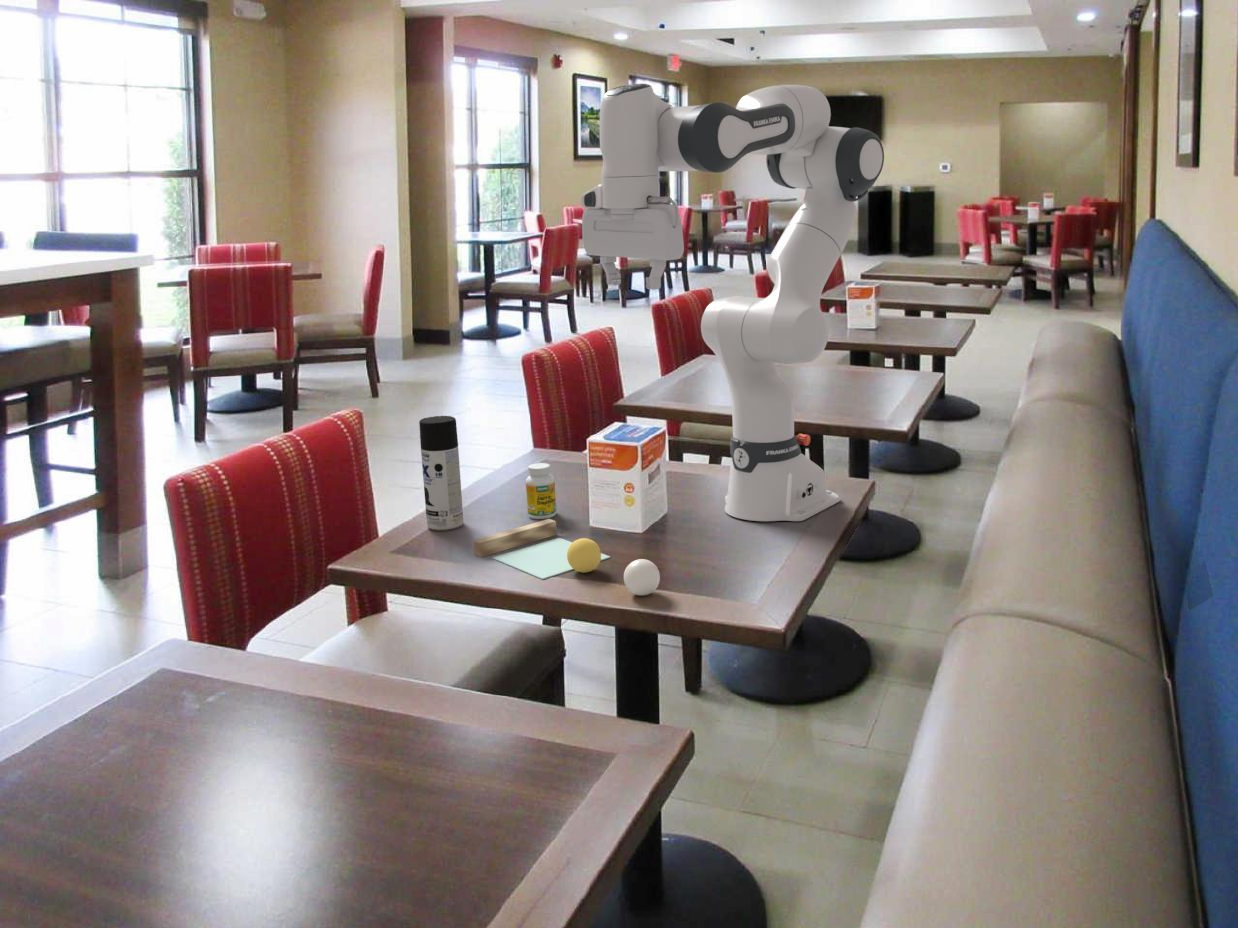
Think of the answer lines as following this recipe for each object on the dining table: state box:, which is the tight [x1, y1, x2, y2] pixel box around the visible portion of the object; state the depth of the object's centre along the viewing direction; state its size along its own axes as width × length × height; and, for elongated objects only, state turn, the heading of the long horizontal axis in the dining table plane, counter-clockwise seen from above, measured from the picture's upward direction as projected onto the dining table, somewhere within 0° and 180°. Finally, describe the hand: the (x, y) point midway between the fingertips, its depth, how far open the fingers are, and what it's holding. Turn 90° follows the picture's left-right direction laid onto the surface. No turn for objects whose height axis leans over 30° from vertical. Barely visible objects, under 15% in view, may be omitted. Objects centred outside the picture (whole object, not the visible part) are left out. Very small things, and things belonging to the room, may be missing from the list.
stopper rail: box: [472, 518, 558, 558], centre depth 201 cm, size 16×2×2 cm, turn 130°
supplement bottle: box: [525, 462, 557, 520], centre depth 215 cm, size 5×5×10 cm
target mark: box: [492, 537, 611, 581], centre depth 194 cm, size 14×14×1 cm
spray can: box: [418, 415, 464, 532], centre depth 210 cm, size 7×7×20 cm
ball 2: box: [623, 558, 661, 597], centre depth 176 cm, size 6×6×6 cm
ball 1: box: [567, 537, 602, 574], centre depth 186 cm, size 6×6×6 cm
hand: (633, 287), depth 181 cm, fingers open, 8 cm apart
